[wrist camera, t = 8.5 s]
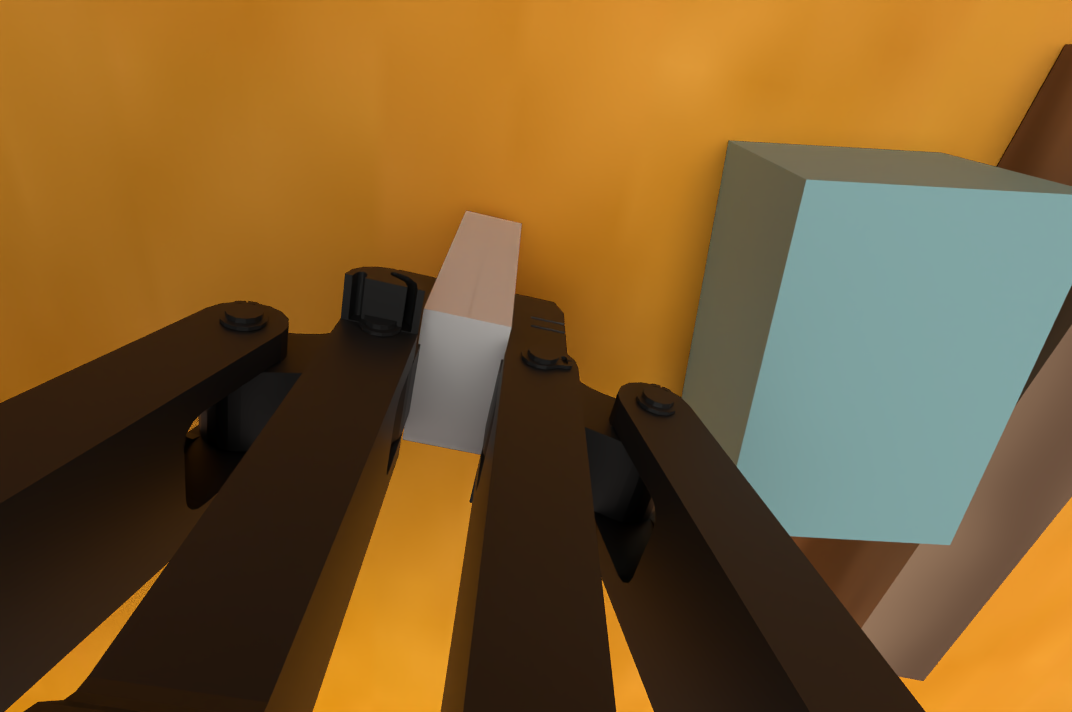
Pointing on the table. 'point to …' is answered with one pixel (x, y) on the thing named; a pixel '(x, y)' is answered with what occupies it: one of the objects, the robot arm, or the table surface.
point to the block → (872, 329)
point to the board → (1006, 486)
